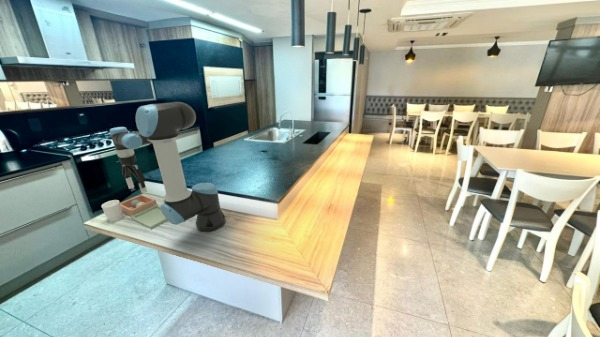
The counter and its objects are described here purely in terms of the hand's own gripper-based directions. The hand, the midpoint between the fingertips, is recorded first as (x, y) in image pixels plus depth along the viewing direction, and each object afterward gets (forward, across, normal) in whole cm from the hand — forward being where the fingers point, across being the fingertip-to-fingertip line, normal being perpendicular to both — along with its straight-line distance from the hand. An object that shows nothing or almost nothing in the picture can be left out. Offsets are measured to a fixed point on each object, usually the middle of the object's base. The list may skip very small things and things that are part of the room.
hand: (137, 190), depth 134 cm
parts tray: (+14, -14, +2) cm, 20 cm away
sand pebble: (+13, 0, +1) cm, 13 cm away
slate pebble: (+12, +8, +1) cm, 15 cm away
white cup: (+14, +5, +13) cm, 19 cm away
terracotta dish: (+13, +4, +1) cm, 14 cm away
